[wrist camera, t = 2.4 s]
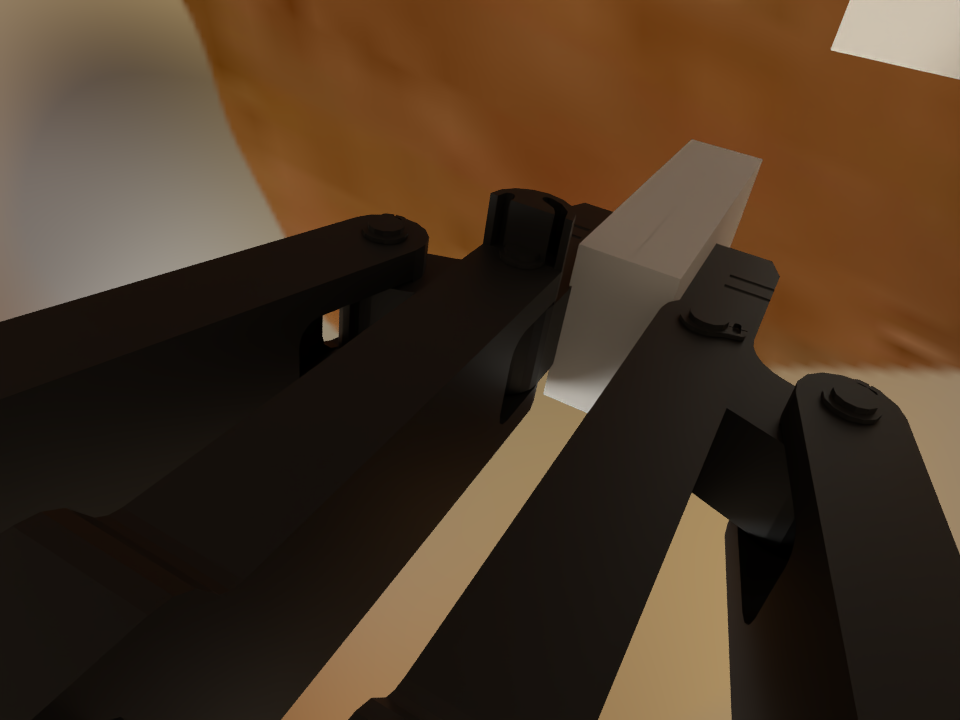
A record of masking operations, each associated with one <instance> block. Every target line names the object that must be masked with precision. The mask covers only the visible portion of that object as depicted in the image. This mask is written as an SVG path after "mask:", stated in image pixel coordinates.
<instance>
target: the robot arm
mask: <svg viewBox="0 0 960 720" xmlns="http://www.w3.org/2000/svg"><path fill="white" fill-rule="evenodd" d="M762 160H763V159H760V158H756V157H753V156H749V155H746V154H742V153H738V152H735V151H731V150H728V149H724V148H721V147H717V146H714V145H710V144H707V143H703V142H699V141H696V140H691V141H689V142H688V143H687V144H686V145H685V146H684V147H683V148H682V149H681V150H680V151H679V152H678V153H677V154H675V155H674V156H673V157H672V158H671V159H670V160H669V161H668V162H667V163H666V164H665V165H664V166H663V167H661V168H660V169H659V170H658V171H657V172H656V173H655V174H654V175H653V176H652V177H651V178H650V179H649V180H647V181H646V182H645V183H644V184H643V185H642V186H641V187H640V188H639V189H638V190H637V191H636V192H635V193H633V194H632V195H631V196H630V197H629V198H628V199H627V200H626V201H625V202H624V203H623V204H622V205H621V206H619V207H618V208H617V209H616V210H615V211H614V212H612V211H609V210H605V209H602V208H599V207H596V206H593V205H590V204H587V203H582V204H578V205H574V206H571V205H569V204H568V203H567V202H565V201H564V200H562V199H560V198H558V197H555V196H553V195H551V194H548V193H544V192H540V191H536V190H530V189H519V188H513V189H501V190H498V191H496V192H493V193H491V195H490V201H489V208H488V214H487V221H486V227H485V234H484V241H483V244H482V245H481V246H479V247H478V248H477V249H475V250H474V251H473V252H471V253H470V254H468V255H467V256H466V257H464V258H463V259H462V260H461V259H454V258H448V257H443V256H438V255H433V254H427V251H428V241H429V236H428V234H427V232H426V230H425V229H424V228H423V227H421V226H420V225H419V224H417V223H415V222H413V221H410V220H408V219H406V218H405V217H402V216H398V215H396V216H394V214H382V215H366V216H360V217H355V218H352V219H349V220H345V221H342V222H338V223H335V224H332V225H328V226H325V227H321V228H318V229H315V230H311V231H308V232H304V233H301V234H298V235H294V236H291V237H287V238H284V239H281V240H277V241H274V242H270V243H267V244H264V245H260V246H257V247H253V248H250V249H247V250H244V251H240V252H236V253H233V254H230V255H226V256H223V257H220V258H216V259H213V260H209V261H206V262H203V263H199V264H196V265H192V266H189V267H185V268H182V269H179V270H175V271H172V272H168V273H165V274H162V275H158V276H155V277H152V278H148V279H144V280H141V281H138V282H134V283H131V284H127V285H124V286H121V287H118V288H114V289H111V290H107V291H104V292H100V293H97V294H94V295H90V296H87V297H83V298H80V299H77V300H73V301H70V302H67V303H63V304H60V305H56V306H53V307H49V308H46V309H43V310H39V311H36V312H32V313H29V314H25V315H22V316H19V317H15V318H12V319H8V320H6V321H2V322H0V720H281V719H282V718H283V716H284V715H285V714H286V713H287V712H288V710H289V709H290V708H291V707H292V705H293V704H294V703H295V702H296V700H297V699H298V697H300V695H301V694H302V693H303V692H304V690H305V689H306V688H307V687H308V685H309V684H310V683H311V682H312V680H313V679H314V678H315V677H316V675H317V674H318V673H319V672H320V670H321V669H322V668H323V667H324V665H325V664H326V663H327V662H328V660H329V659H330V658H331V657H332V656H333V654H334V653H335V652H336V650H337V649H338V648H339V647H340V646H341V644H342V643H343V642H344V640H345V639H346V638H347V637H348V636H349V634H350V633H351V632H352V631H353V629H354V628H355V627H356V625H357V624H358V623H359V622H360V620H361V619H362V618H363V617H364V616H365V614H366V613H367V612H368V611H369V609H370V608H371V607H372V606H373V604H374V603H375V602H376V601H377V600H378V598H379V597H380V596H381V594H382V593H383V592H384V591H385V589H386V588H387V587H388V586H389V584H390V583H391V582H392V581H393V580H394V578H395V577H396V576H397V575H398V573H399V572H400V571H401V570H402V568H403V567H404V566H405V565H406V563H407V562H408V561H409V560H410V558H411V557H412V556H413V555H414V553H415V552H416V551H417V550H418V548H419V547H420V546H421V545H422V543H423V542H424V541H425V540H426V538H427V537H428V536H429V535H430V534H431V532H432V531H433V530H434V529H435V527H436V526H437V525H438V524H439V522H440V521H441V520H442V519H443V517H444V516H445V515H446V514H447V512H448V511H449V510H450V509H451V507H452V506H453V505H454V503H455V502H456V501H457V500H458V499H459V497H460V496H461V495H462V494H463V493H464V491H465V490H466V488H468V486H469V485H470V484H471V483H472V481H473V480H474V479H475V478H476V476H477V475H478V474H479V473H480V471H481V470H482V468H484V466H485V465H486V464H487V463H488V461H489V460H490V459H491V458H492V456H493V455H494V454H495V452H496V451H497V450H498V449H499V448H500V446H501V445H502V444H503V443H504V441H505V440H506V439H507V438H508V436H509V435H510V434H511V433H512V431H513V430H514V429H515V428H516V427H517V425H518V424H519V423H520V422H521V420H522V419H523V418H524V417H525V415H526V414H527V413H528V411H529V410H530V408H531V406H532V403H533V401H534V396H535V392H536V388H537V383H538V381H539V380H540V379H541V378H542V377H543V376H544V374H545V373H546V372H547V371H548V370H549V372H548V377H547V381H546V385H545V390H544V393H543V394H544V395H546V396H548V397H551V398H553V399H555V400H558V401H560V402H562V403H565V404H567V405H570V406H572V407H574V408H577V409H579V410H581V411H584V412H586V413H587V415H586V416H585V418H584V419H583V421H582V422H581V424H580V425H579V426H578V428H577V429H576V431H575V432H574V434H573V435H572V436H571V438H570V439H569V441H568V442H567V444H566V445H565V447H564V448H563V450H562V451H561V452H560V454H559V455H558V457H557V458H556V460H555V461H554V462H553V464H552V465H551V467H550V468H549V470H548V471H547V473H546V474H545V475H544V477H543V478H542V480H541V481H540V483H539V484H538V486H537V487H536V488H535V490H534V491H533V493H532V494H531V496H530V497H529V499H528V500H527V502H526V503H525V504H524V506H523V507H522V509H521V510H520V512H519V513H518V515H517V516H516V517H515V519H514V520H513V522H512V523H511V525H510V526H509V527H508V529H507V530H506V532H505V533H504V535H503V536H502V537H501V539H500V541H499V542H498V543H497V545H496V546H495V548H494V549H493V550H492V552H491V553H490V555H489V556H488V558H487V559H486V561H485V562H484V563H483V565H482V566H481V568H480V569H479V571H478V572H477V574H476V575H475V576H474V578H473V579H472V581H471V582H470V584H469V585H468V587H467V588H466V589H465V591H464V592H463V594H462V595H461V597H460V598H459V600H458V601H457V602H456V604H455V605H454V607H453V608H452V610H451V611H450V612H449V614H448V615H447V617H446V618H445V620H444V621H443V623H442V624H441V626H440V627H439V629H438V630H437V631H436V633H435V634H434V636H433V637H432V638H431V640H430V641H429V643H428V644H427V646H426V647H425V649H424V650H423V652H422V653H421V654H420V656H419V657H418V659H417V660H416V662H415V663H414V664H413V666H412V667H411V669H410V670H409V672H408V673H407V675H406V676H405V677H404V679H403V680H402V681H401V683H400V684H399V685H398V686H397V688H396V689H395V690H394V691H393V692H392V693H391V694H390V695H388V696H387V697H385V698H371V699H370V700H368V701H367V702H366V703H365V704H364V705H362V706H361V707H360V708H359V709H357V710H356V711H355V712H354V713H353V715H352V716H351V717H350V718H349V719H348V720H598V718H599V716H600V713H601V710H602V708H603V706H604V704H605V701H606V699H607V696H608V694H609V691H610V689H611V686H612V684H613V682H614V679H615V677H616V674H617V672H618V670H619V667H620V665H621V662H622V660H623V658H624V655H625V653H626V650H627V648H628V646H629V643H630V641H631V638H632V636H633V633H634V631H635V628H636V626H637V624H638V621H639V619H640V616H641V614H642V611H643V609H644V607H645V604H646V602H647V599H648V597H649V595H650V592H651V590H652V587H653V585H654V582H655V580H656V578H657V575H658V573H659V570H660V568H661V566H662V563H663V561H664V558H665V556H666V553H667V551H668V549H669V546H670V544H671V541H672V539H673V536H674V534H675V532H676V529H677V527H678V524H679V522H680V519H681V517H682V515H683V512H684V510H685V507H686V505H687V502H688V500H689V498H690V495H691V493H694V494H695V495H696V496H698V497H699V498H700V499H702V500H703V501H704V502H706V503H707V504H708V505H710V506H711V507H712V508H714V509H715V510H717V511H718V512H719V513H720V514H722V515H723V516H725V517H726V518H727V519H729V522H728V524H727V529H726V532H725V555H726V580H727V607H728V633H729V659H730V685H731V710H732V711H731V712H732V720H960V554H959V551H958V549H957V547H956V544H955V541H954V539H953V536H952V533H951V531H950V529H949V526H948V523H947V521H946V518H945V515H944V513H943V511H942V508H941V505H940V503H939V500H938V497H937V495H936V492H935V490H934V487H933V485H932V482H931V480H930V477H929V474H928V472H927V469H926V467H925V464H924V462H923V459H922V456H921V454H920V451H919V449H918V446H917V444H916V441H915V439H914V436H913V433H912V431H911V428H910V426H909V423H908V420H907V419H906V417H905V416H904V414H903V413H902V411H901V410H900V408H899V407H898V406H897V405H896V404H895V403H894V402H892V401H891V400H890V399H889V398H888V397H886V396H885V395H884V394H883V393H882V392H881V391H880V390H878V389H876V388H875V387H873V386H871V387H870V386H869V384H867V383H865V382H863V381H860V380H857V379H851V378H848V377H845V376H842V375H836V374H829V373H816V374H807V375H806V376H804V377H803V378H801V379H800V380H798V381H797V383H796V386H794V385H792V384H791V383H789V382H787V381H785V380H784V379H782V378H781V377H779V376H778V375H776V374H775V373H773V372H772V371H771V370H770V369H769V368H768V367H766V366H765V365H764V364H763V363H762V362H761V360H760V359H759V358H758V356H757V355H756V353H755V350H754V347H753V345H754V338H755V336H756V334H757V331H758V329H759V326H760V324H761V321H762V319H763V316H764V314H765V311H766V309H767V307H768V304H769V302H770V299H771V297H772V294H773V292H774V289H775V287H776V284H777V282H778V279H779V277H780V276H779V274H778V272H777V270H776V268H775V266H774V264H773V262H772V261H769V260H766V259H763V258H760V257H757V256H754V255H750V254H747V253H744V252H741V251H738V250H735V249H732V248H730V246H731V243H732V240H733V238H734V235H735V232H736V230H737V227H738V224H739V222H740V219H741V216H742V214H743V211H744V208H745V205H746V203H747V200H748V197H749V195H750V192H751V189H752V187H753V184H754V181H755V179H756V176H757V173H758V171H759V168H760V165H761V163H762ZM337 309H340V310H339V337H338V338H335V339H333V340H331V341H325V342H324V341H323V337H322V319H323V315H325V314H327V313H330V312H332V311H335V310H337Z"/></svg>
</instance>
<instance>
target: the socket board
mask: <svg viewBox="0 0 960 720" xmlns="http://www.w3.org/2000/svg"><path fill="white" fill-rule="evenodd" d="M831 50H832V51H837V52H841V53H846V54H850V55H854V56H859V57H863V58H868V59H872V60H876V61H881V62H885V63H890V64H894V65H898V66H903V67H907V68H912V69H916V70H920V71H925V72H929V73H934V74H938V75H942V76H947V77H951V78H956V79H960V0H850V2H849V4H848V7H847V9H846V12H845V14H844V17H843V19H842V22H841V25H840V27H839V30H838V32H837V35H836V37H835V40H834V42H833V45H832V48H831Z"/></svg>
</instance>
